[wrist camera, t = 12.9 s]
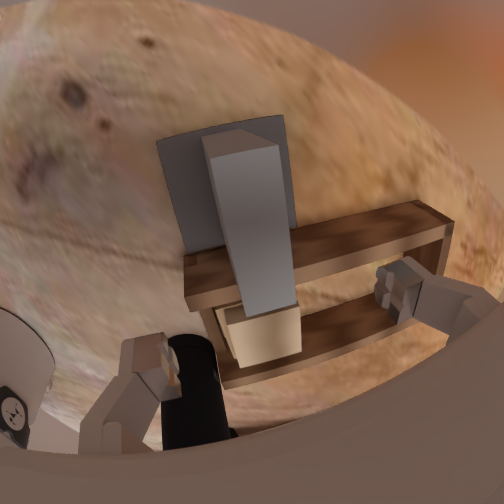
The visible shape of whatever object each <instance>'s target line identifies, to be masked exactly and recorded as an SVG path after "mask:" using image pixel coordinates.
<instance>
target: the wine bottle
mask: <svg viewBox="0 0 504 504" xmlns="http://www.w3.org/2000/svg"><path fill="white" fill-rule="evenodd" d="M168 346H170V347H172V348H173V350H174V352H175V355H176V357H177V361H178V365H179V373H178V375H177V377H178V379H179V381H180V384H181V394H182V397H180V398H175V399H171V400H166V401H161V424H162V444H163V451H165V450H173V449H180V448H187V447H193V446H199V445H204V444H210V443H215V442H219V441H224V440H229V439H231V436H230V431H229V427H228V422H227V416H226V411H225V406H224V401H223V395H222V390H221V384H220V378H219V373H218V367H217V361H216V355H215V350H214V347H213V345H212V344H211V343H210V342H209V340H207V339H205V338H203V337H201V336H197V335H191V334H183V335H178V336H175V337H172V338H170V339H168Z"/></svg>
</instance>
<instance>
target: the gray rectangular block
mask: <svg viewBox="0 0 504 504" xmlns="http://www.w3.org/2000/svg"><path fill="white" fill-rule="evenodd" d="M201 139H202V144H203V148H204V153H205V157H206V162H207V166H208V171H209V176H210V180H211V184H212V189H213V193H214V198H215V202H216V206H217V211H218V215H219V219H220V224H221V228H222V232H223V236H224V240H225V244H226V248H227V251H228V255H229V258H230V262H231V265H232V269H233V272H234V276H235V280H236V283H237V286H238V290H239V293H240V297H241V300H242V304H243V307H244V311H245V314H246V317H249V316H253V315H257V314H260V313H264V312H268V311H271V310H275V309H279V308H282V307H286V306H289V305H293V304H296V293H295V282H294V271H293V261H292V251H291V242H290V232H289V223H288V215H287V206H286V198H285V190H284V182H283V175H282V167H281V160H280V153H279V146H278V145H277V144H275V143H273V142H270V141H268V140H266V139H264V138H261V137H259V136H257V135H254V134H252V133H250V132H247V131H245V130H242V129H240V128H239V129H234V130H229V131H224V132H220V133H215V134H210V135H206V136H202V137H201Z"/></svg>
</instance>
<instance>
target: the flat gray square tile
mask: <svg viewBox="0 0 504 504" xmlns="http://www.w3.org/2000/svg"><path fill="white" fill-rule="evenodd" d="M239 128H240V129H242V130H245V131H247V132H250V133H252V134H254V135H257V136H259V137H261V138H264V139H266V140H268V141H270V142H273V143H275V144H277V145H278V146H279V153H280V160H281V167H282V175H283V182H284V190H285V198H286V206H287V215H288V223H289V228H293V227H297V223H296V213H295V204H294V195H293V186H292V177H291V169H290V161H289V153H288V146H287V138H286V131H285V124H284V117H283V115H276V116H269V117H262V118H256V119H250V120H244V121H239V122H234V123H228V124H223V125H219V126H214V127H209V128H205V129H201V130H196V131H192V132H188V133H184V134H180V135H176V136H173V137H169V138H165V139H162V140H158V141H156V144H157V148H158V152H159V156H160V160H161V164H162V168H163V171H164V175H165V179H166V183H167V186H168V190H169V193H170V197H171V201H172V204H173V207H174V211H175V214H176V218H177V221H178V224H179V228H180V231H181V234H182V238H183V241H184V244H185V247H186V250H187V253H192V252H196V251H200V250H204V249H208V248H212V247H216V246H220V245H224V244H225V240H224V236H223V232H222V228H221V224H220V219H219V215H218V211H217V206H216V202H215V198H214V193H213V189H212V184H211V180H210V176H209V171H208V166H207V162H206V157H205V153H204V148H203V144H202V139H201V137H202V136H206V135H210V134H215V133H220V132H224V131H229V130H234V129H239Z"/></svg>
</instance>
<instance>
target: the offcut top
mask: <svg viewBox="0 0 504 504" xmlns="http://www.w3.org/2000/svg"><path fill="white" fill-rule="evenodd" d="M224 314H225V318H226V323H227V327H228V330H229V334H230V337H231V340H232V344H233V347H234V350H235V353H236V357H237V360H238V363H239V366H240V368H244V367H248V366H252V365H256V364H260V363H263V362H267V361H271V360H274V359H278V358H281V357H285V356H288V355H292V354H295V353H298V352H302V347H301V320H300V306H299V304H298V302H297V300H296V304H293V305H289V306H286V307H282V308H279V309H275V310H271V311H268V312H264V313H260V314H257V315H253V316H249V317H246V314H245V311H244V307H243V305H239V306H235V307H231V308H227V309H224Z"/></svg>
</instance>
